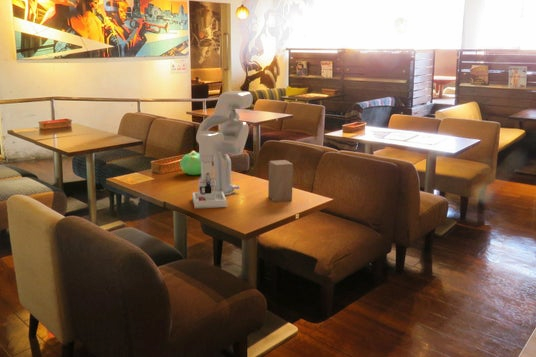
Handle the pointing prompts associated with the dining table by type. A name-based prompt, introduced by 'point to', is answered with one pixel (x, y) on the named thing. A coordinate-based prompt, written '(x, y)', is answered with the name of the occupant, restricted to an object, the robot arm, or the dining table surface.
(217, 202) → the tray
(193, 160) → the green teapot
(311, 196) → the dining table surface
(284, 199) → the wooden block
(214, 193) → the ink box
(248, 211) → the dining table surface
